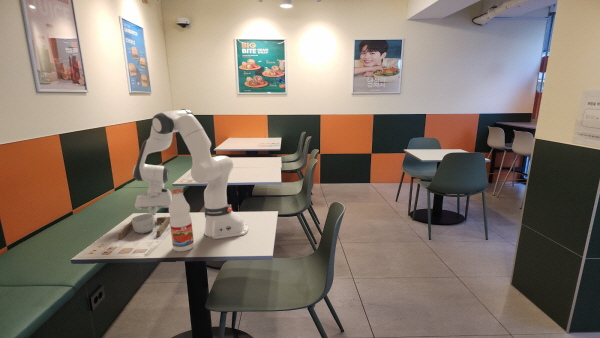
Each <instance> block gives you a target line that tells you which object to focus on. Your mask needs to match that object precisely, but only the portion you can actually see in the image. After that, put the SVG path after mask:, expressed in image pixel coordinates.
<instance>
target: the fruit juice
mask: <svg viewBox="0 0 600 338" xmlns="http://www.w3.org/2000/svg"><path fill="white" fill-rule="evenodd" d="M171 194H172V201H171V204H170V206H169V208H168V213H169V217H170V224H169V225H170V227H169V228H170V234H171V235H170V237H171V243H172V249H173V250H174V252H181V253H182V252H186V251H190V250H191V249H193V248H194V245H195V240H194V231H193V224H192V216H191V214H190V212H191V206H190V204H189V203H188V202H187V200H186V197H185V196H184V189H182V188H175V189H172V190H171Z"/></svg>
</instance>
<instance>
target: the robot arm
mask: <svg viewBox="0 0 600 338" xmlns="http://www.w3.org/2000/svg"><path fill="white" fill-rule="evenodd" d="M174 133H179V134H180V136H181V138H182V140H183V141H184V143H185V145H186V147H187V149H188V152H189V153H190V156H191V161H192V165H191V169H190V176H191V178H192V180H193V181H194V182H195V183H197V184H207V185H206V188H205V189H204V191H203V198H204V199H203V200H204V207H203V212H204V218H205V227H204V232H203V234H204V235H205V236H206V237H209V238H212V239H214V240H217V239H226V238H231V237H233V238H234V237H238V236H244V235H246V234H247V233H248V232H249V225H248V224H247V223H245V222H244V219H243V217H242V215H240V214H238V213H237V212H234V210H233V208H232V204H228V196H227V187H228V182H229V179H230V178H229V177H230V174H231V172H232V171H233V169H234V163H233V161H232V159H231V157H229V156H227V155H216V156H213V157H212V154H211V147H212V141H211V139H210V138H209V137H208V135H207V133H206V131H205V129H204V127H203V126H202V124H201V123H200V122H199V120H198V119H197V118H196V117H195V115H194V113H193V112H192V111H191V110H189V109H187V108H183V109H182V108H181V109H175V110H173V109H172V110H167V111H164V112H159V113H157V114H155V115H153V117H152V119H151V129H150V135H149V137H148V139H145V140H144V141H143V142H142V144H141V146H140V147H141V148H140V151H139V152H138V153H139V154H138V156H137V160H136V164H135V165H134V167H133V170H132V175H133V176H132V177H133V179H135V180H136V182H148V184H149V185H148V186H147V191H146V192H147V193H139V194H138V195H136V197H135V199H136V200H135V203H134V207H135V209H136V210H148V213H151V214H153V215H154V216H156V213H157V212H158V211H159V209H164V208H165V209H166V208H167V209H169V206H170V204H171V201H172V196H173V195H172V191H171V190H170V189H168V188H165V185H166V183H167V182H168V181H169V172H170V171H169V169H168V168H167V167H166V166H164V165H158V164H156V165H154V164H147V163H145V162H146V159H147V156H148V155H149V154H152V153H157V152H162V151H165V150H167V149H168V148H170V147H171V145H172V142H173V134H174ZM152 209H154V210H152Z"/></svg>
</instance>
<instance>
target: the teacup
mask: <svg viewBox="0 0 600 338" xmlns="http://www.w3.org/2000/svg"><path fill="white" fill-rule="evenodd" d="M131 221H132V225H133V228H132V229H133V231H134V232H136V233H138V234H147V233H149V232H151V231H152V230H153V229H154V228H155V226H156V223H155V222H156V221H155V215H153V214H151V213H149V212H148V213H143V214H139V215H137V216H134V217H132V218H131V220H130V222H131Z"/></svg>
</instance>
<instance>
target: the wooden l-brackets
mask: <svg viewBox="0 0 600 338" xmlns="http://www.w3.org/2000/svg"><path fill="white" fill-rule="evenodd" d="M170 217H171V216H163V217H162V216H161V217H158V216H157V218H156V224H161V225H160V226H159V227H158V229H157V230H156V237H161V236H162V235H163V233H164V232H165V231H166V229H167V227H168V226H169V225H170ZM133 229H134V228H133V225H132V221H131V220H130V221H129V222H128V223H127V224H126V225H125V226H124V228H123V229H121V230H120V231H119V232H118V234H117V236H118V240H123V238H125V237H126V236H127V235H128V234H129V233H130V232H131V230H133Z"/></svg>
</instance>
